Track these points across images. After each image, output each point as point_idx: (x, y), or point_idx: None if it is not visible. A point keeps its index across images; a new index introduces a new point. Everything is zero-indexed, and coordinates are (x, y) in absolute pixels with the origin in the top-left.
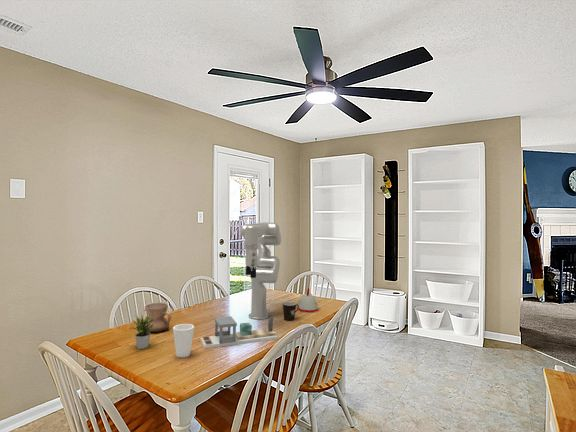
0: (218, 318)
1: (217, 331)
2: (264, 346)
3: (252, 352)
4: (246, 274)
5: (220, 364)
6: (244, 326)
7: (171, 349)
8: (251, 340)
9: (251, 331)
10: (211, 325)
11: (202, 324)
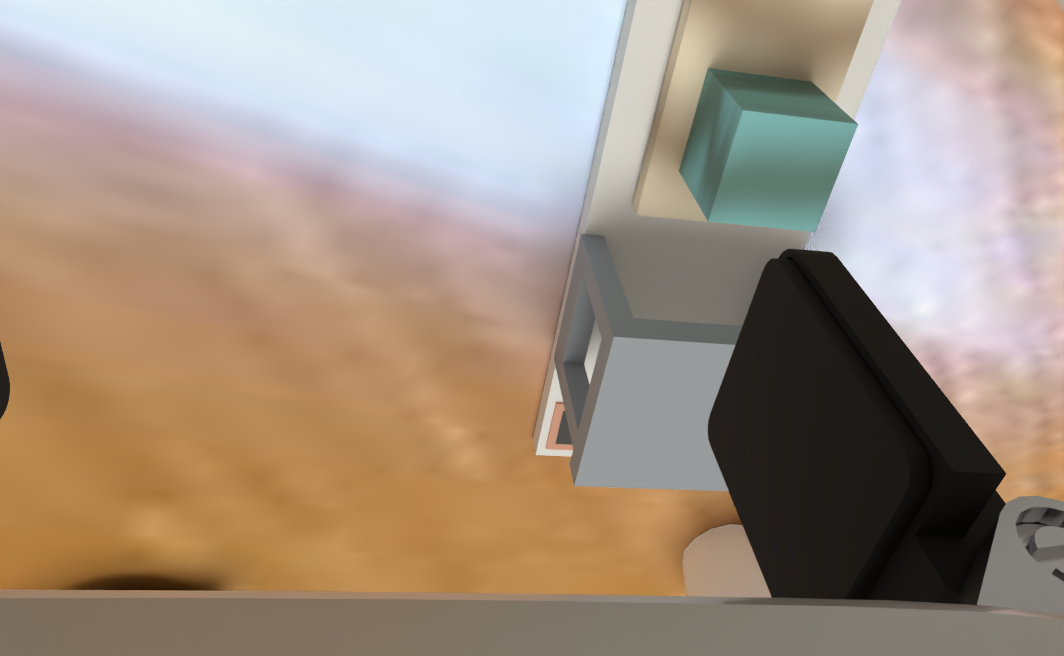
0: (622, 462)
1: (585, 371)
2: (1017, 12)
3: (1032, 174)
4: (6, 397)
5: (1011, 418)
6: (821, 207)
7: (601, 591)
8: (858, 99)
9: (826, 96)
10: (141, 278)
11: (80, 346)
